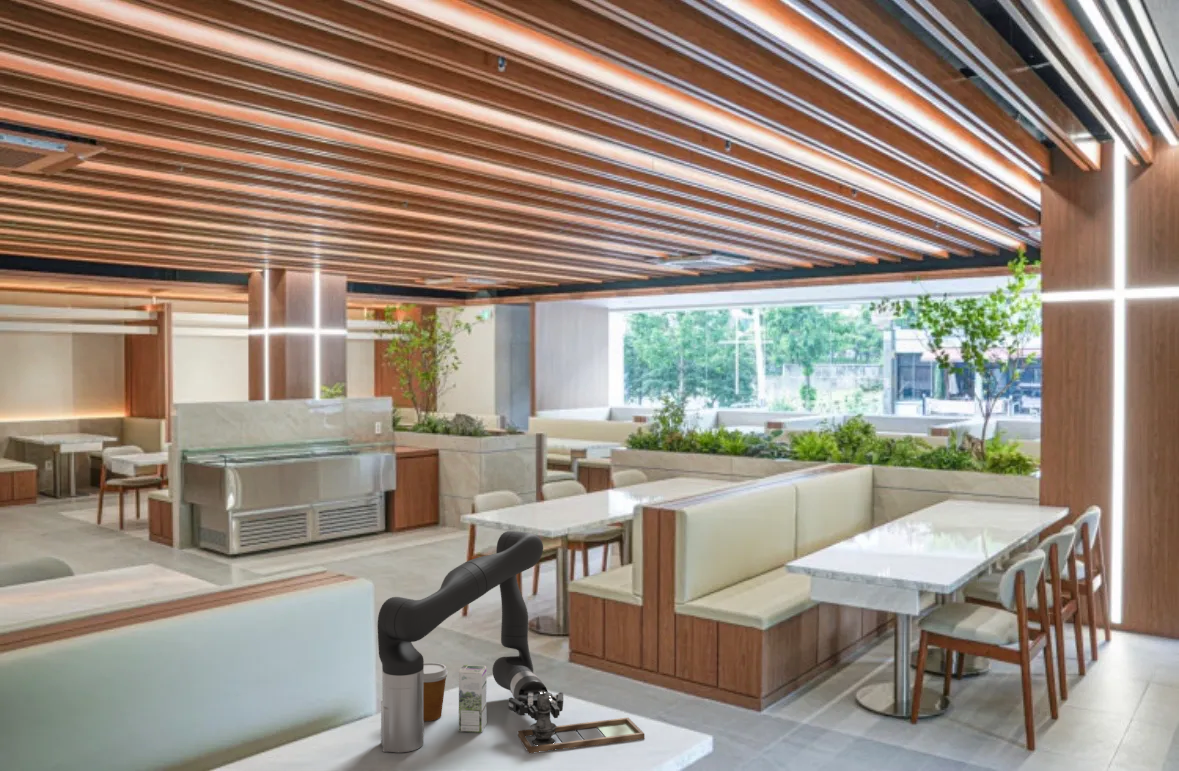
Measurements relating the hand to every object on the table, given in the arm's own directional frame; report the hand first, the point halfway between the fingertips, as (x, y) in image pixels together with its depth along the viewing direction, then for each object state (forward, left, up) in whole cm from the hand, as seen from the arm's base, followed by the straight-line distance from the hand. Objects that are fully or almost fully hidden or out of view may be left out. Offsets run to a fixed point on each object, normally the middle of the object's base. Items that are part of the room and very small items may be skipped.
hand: (546, 714), depth 203 cm
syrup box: (-14, +16, -7) cm, 22 cm away
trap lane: (+9, +3, -7) cm, 12 cm away
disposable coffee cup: (-23, +27, -7) cm, 36 cm away
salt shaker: (0, +3, -7) cm, 8 cm away
